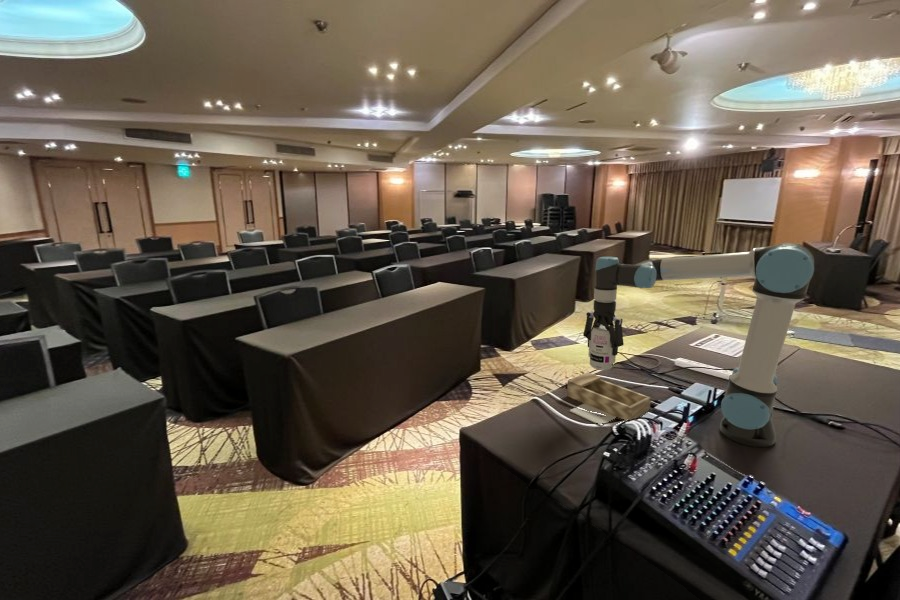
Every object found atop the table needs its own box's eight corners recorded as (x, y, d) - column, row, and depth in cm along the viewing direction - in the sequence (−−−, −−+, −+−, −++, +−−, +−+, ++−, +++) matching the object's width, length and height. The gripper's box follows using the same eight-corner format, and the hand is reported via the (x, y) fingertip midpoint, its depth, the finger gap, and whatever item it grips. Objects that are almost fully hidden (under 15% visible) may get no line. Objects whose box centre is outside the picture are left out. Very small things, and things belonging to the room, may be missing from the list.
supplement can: (609, 362, 157) (612, 324, 153) (615, 371, 149) (618, 331, 145) (587, 362, 158) (589, 324, 154) (592, 370, 150) (594, 331, 146)
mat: (616, 418, 151) (616, 417, 151) (601, 426, 146) (601, 424, 146) (584, 404, 162) (584, 403, 162) (569, 411, 157) (569, 410, 157)
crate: (649, 412, 154) (650, 394, 153) (629, 423, 147) (630, 405, 146) (587, 387, 177) (587, 372, 175) (567, 396, 170) (567, 380, 168)
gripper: (638, 303, 141) (633, 365, 146) (587, 293, 158) (585, 349, 163) (624, 307, 137) (620, 370, 142) (574, 296, 154) (572, 353, 159)
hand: (601, 359), depth 152 cm, fingers closed on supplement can, 8 cm apart
